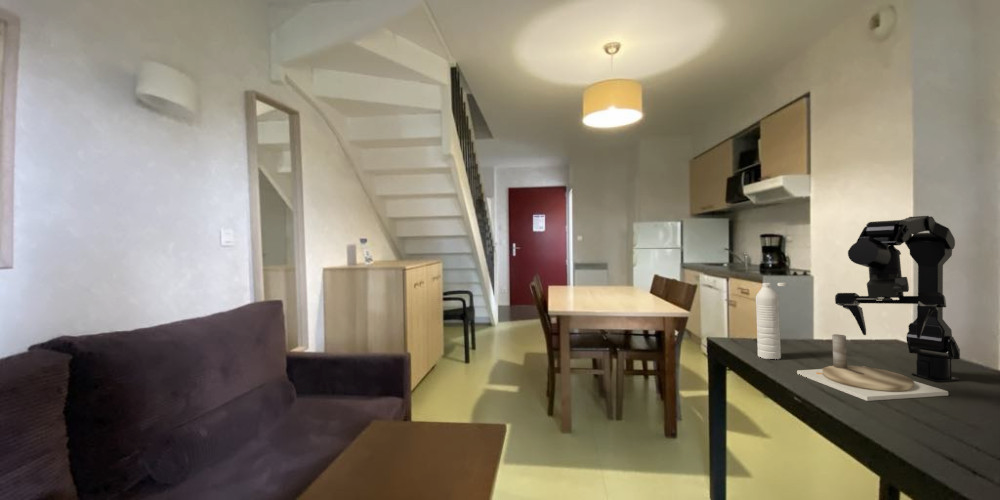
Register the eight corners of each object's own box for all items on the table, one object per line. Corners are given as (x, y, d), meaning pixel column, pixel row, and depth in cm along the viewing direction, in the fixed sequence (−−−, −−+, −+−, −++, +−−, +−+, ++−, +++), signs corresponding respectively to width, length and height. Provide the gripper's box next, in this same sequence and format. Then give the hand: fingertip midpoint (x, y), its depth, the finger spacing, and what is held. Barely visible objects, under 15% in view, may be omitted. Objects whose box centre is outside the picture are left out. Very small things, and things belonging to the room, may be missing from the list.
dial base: (864, 369, 119) (864, 365, 119) (948, 395, 98) (948, 390, 98) (797, 373, 118) (797, 370, 118) (867, 400, 97) (867, 396, 97)
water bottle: (757, 358, 134) (754, 283, 134) (758, 353, 140) (755, 281, 139) (789, 361, 129) (786, 283, 129) (789, 356, 135) (786, 282, 135)
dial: (864, 367, 117) (863, 332, 117) (935, 388, 99) (933, 347, 99) (806, 370, 116) (804, 336, 116) (866, 392, 98) (865, 351, 98)
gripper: (827, 267, 100) (831, 331, 97) (937, 262, 86) (946, 337, 83) (838, 274, 107) (842, 334, 104) (942, 271, 93) (950, 340, 90)
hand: (890, 336), depth 95 cm, fingers open, 9 cm apart
